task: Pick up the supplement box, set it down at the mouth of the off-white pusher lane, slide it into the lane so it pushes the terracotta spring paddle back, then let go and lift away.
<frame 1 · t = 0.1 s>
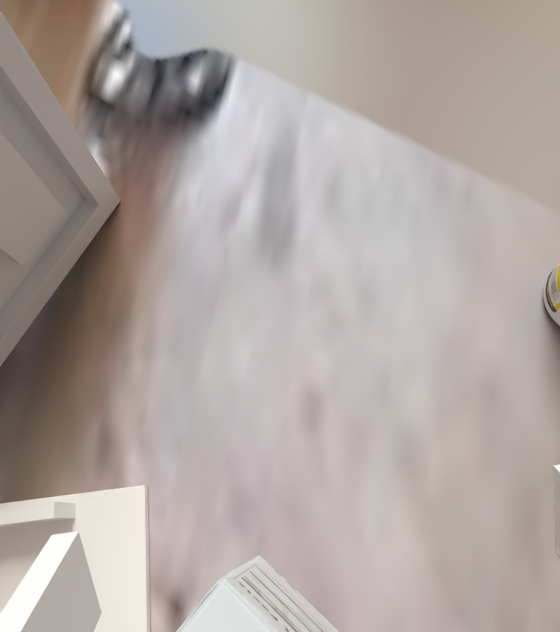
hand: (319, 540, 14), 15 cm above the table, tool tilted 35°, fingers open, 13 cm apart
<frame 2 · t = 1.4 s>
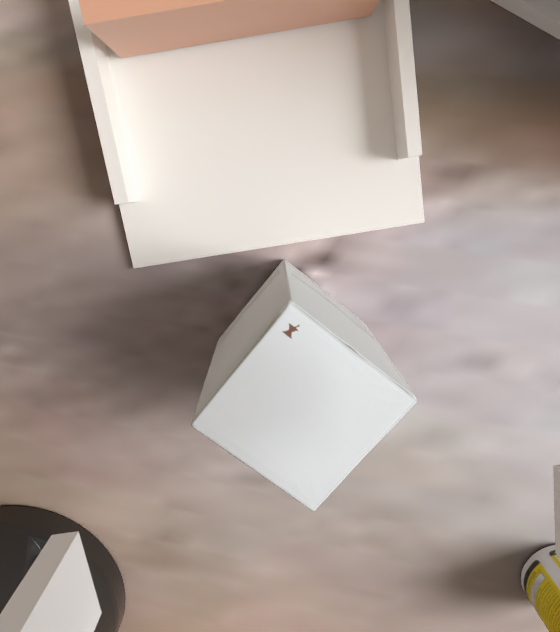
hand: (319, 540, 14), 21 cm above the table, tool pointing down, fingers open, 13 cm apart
supplement bottle: (552, 570, 39), on the table
pusher lane: (240, 4, 29), on the table
supplement box: (291, 332, 34), on the table
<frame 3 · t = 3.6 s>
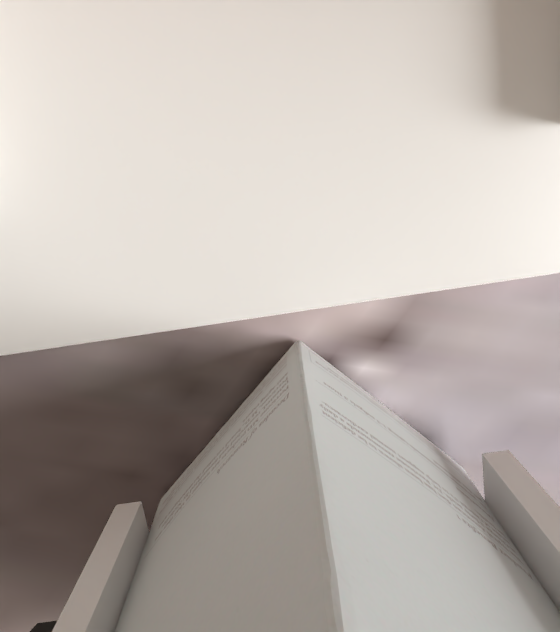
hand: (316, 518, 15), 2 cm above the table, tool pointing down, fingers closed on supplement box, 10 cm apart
supplement box: (311, 481, 17), on the table, touching gripper
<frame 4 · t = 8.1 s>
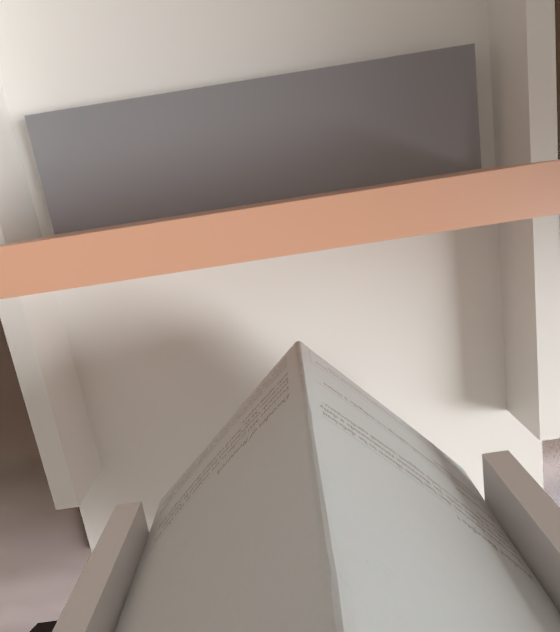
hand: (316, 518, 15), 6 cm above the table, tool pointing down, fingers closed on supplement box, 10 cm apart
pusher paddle: (257, 156, 14), point 4 cm above the table, slide at 0.0 cm
pusher lane: (262, 178, 18), on the table
supplement box: (311, 481, 17), point 4 cm above the table, touching gripper
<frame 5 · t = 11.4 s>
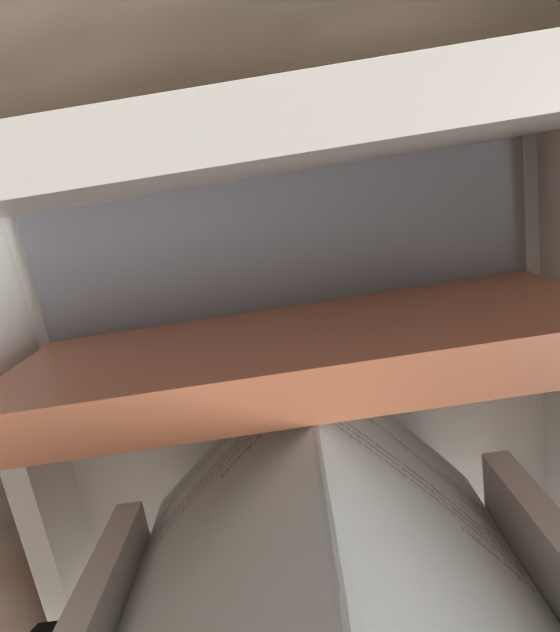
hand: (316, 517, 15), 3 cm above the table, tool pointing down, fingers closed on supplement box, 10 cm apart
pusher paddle: (278, 279, 12), point 4 cm above the table, slide at 7.0 cm, touching supplement box, pusher lane
pusher lane: (310, 465, 18), on the table
supplement box: (313, 486, 17), point 1 cm above the table, touching gripper, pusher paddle
when the fingers open (3 cm above the table, at t = 12.5 s): supplement box stays where it is, resting on pusher lane, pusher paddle.
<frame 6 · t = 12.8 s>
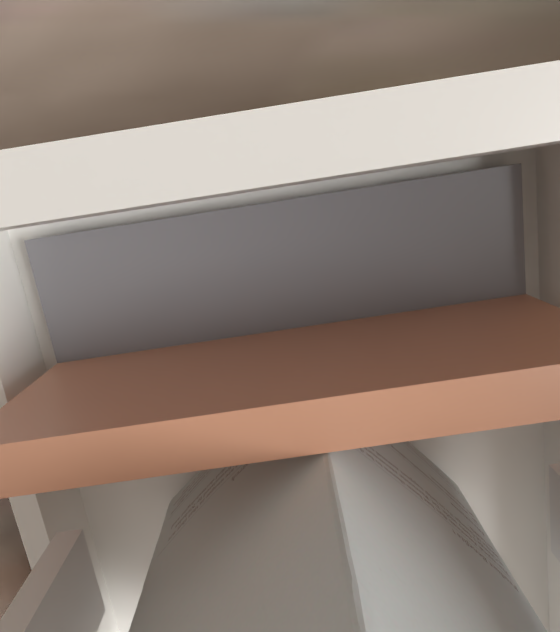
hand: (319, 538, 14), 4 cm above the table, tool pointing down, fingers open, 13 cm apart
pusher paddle: (283, 306, 13), point 4 cm above the table, slide at 6.6 cm, touching supplement box
pusher lane: (311, 474, 18), on the table
supplement box: (313, 489, 18), resting on pusher lane, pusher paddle
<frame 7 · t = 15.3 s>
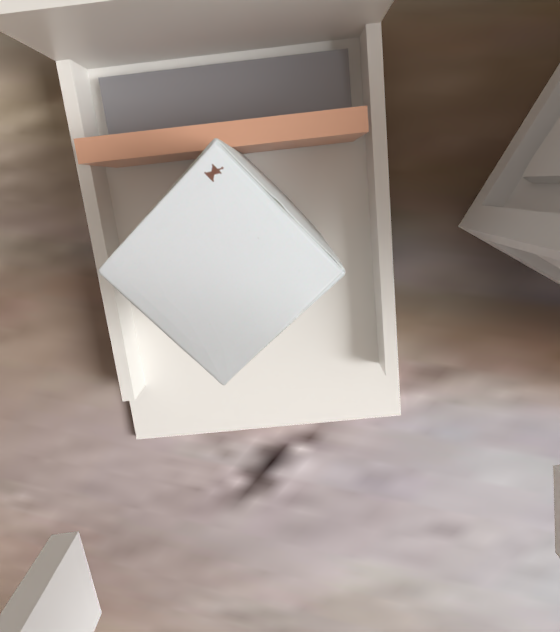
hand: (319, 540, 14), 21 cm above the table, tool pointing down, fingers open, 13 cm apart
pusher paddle: (222, 103, 27), point 4 cm above the table, slide at 6.3 cm, touching supplement box
pusher lane: (243, 225, 33), on the table
supplement box: (244, 236, 33), resting on pusher lane, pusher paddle
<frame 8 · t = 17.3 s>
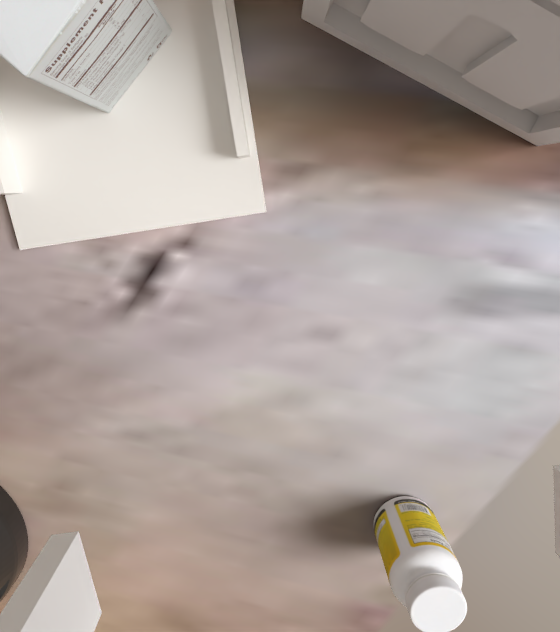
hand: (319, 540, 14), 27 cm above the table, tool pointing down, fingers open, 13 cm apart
supplement bottle: (402, 519, 45), on the table
pusher lane: (100, 26, 35), on the table
supplement box: (101, 37, 35), resting on pusher lane, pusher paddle
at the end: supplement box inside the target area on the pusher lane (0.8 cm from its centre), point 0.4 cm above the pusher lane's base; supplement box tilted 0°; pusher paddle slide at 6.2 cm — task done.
